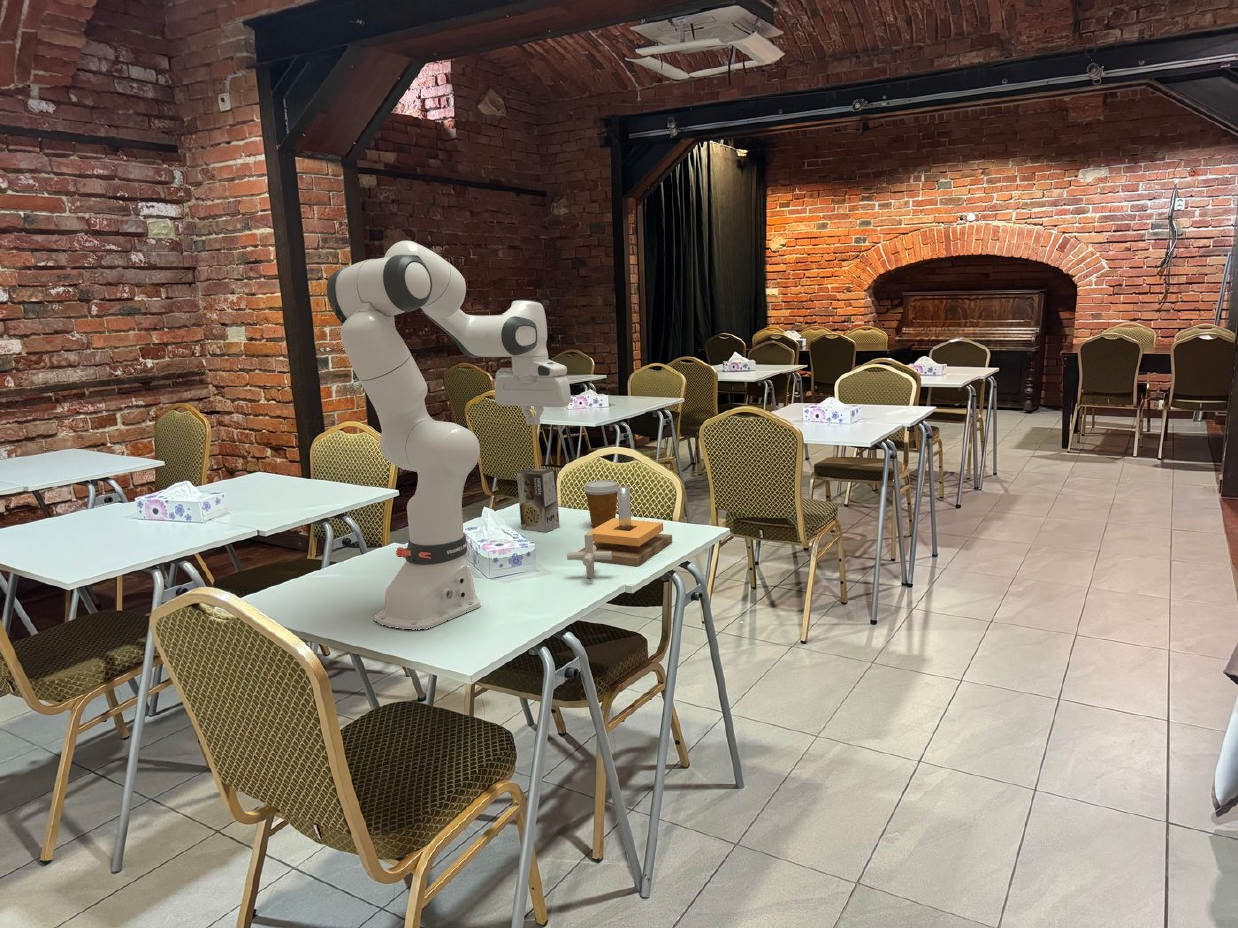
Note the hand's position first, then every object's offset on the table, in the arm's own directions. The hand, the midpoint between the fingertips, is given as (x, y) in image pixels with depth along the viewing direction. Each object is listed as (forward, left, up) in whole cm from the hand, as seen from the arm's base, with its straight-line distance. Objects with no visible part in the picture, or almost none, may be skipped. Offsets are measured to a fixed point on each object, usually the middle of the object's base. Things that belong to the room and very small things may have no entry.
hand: (533, 424), depth 209 cm
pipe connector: (-15, -23, -32) cm, 42 cm away
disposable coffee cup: (+23, -6, -32) cm, 40 cm away
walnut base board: (+5, -22, -32) cm, 39 cm away
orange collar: (+5, -22, -28) cm, 35 cm away
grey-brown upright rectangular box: (+16, +10, -32) cm, 37 cm away
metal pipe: (+5, -22, -30) cm, 37 cm away
